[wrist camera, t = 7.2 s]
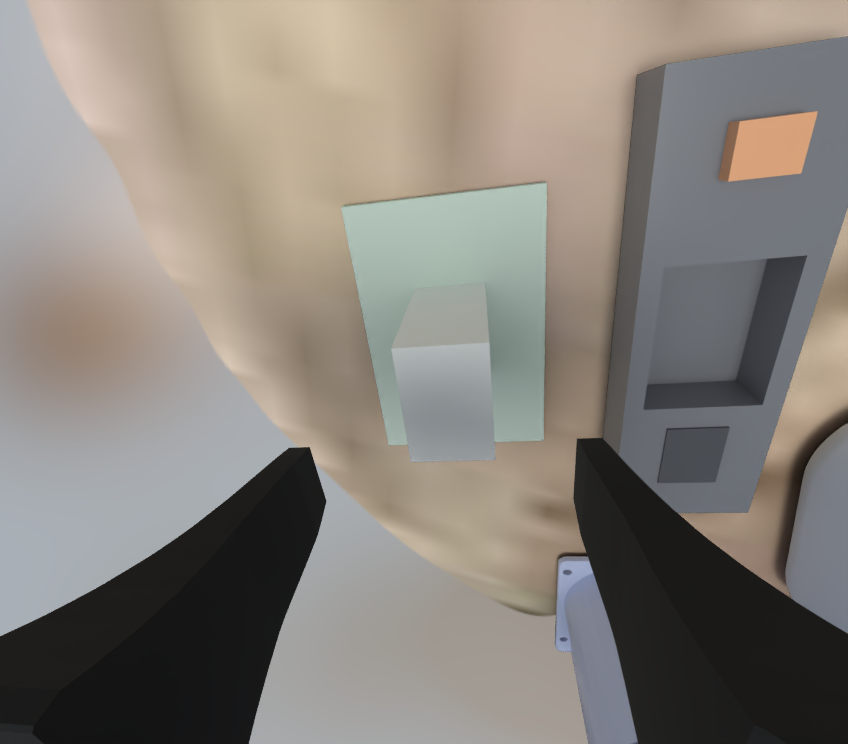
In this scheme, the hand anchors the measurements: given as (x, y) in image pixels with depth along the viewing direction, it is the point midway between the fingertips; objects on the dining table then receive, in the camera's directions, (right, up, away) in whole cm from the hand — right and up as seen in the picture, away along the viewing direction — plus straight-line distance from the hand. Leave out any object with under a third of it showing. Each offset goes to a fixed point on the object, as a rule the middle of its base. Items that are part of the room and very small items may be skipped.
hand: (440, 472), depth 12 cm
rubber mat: (+1, +5, +8) cm, 9 cm away
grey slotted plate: (+11, +5, +7) cm, 14 cm away
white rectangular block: (+1, +4, +8) cm, 9 cm away
